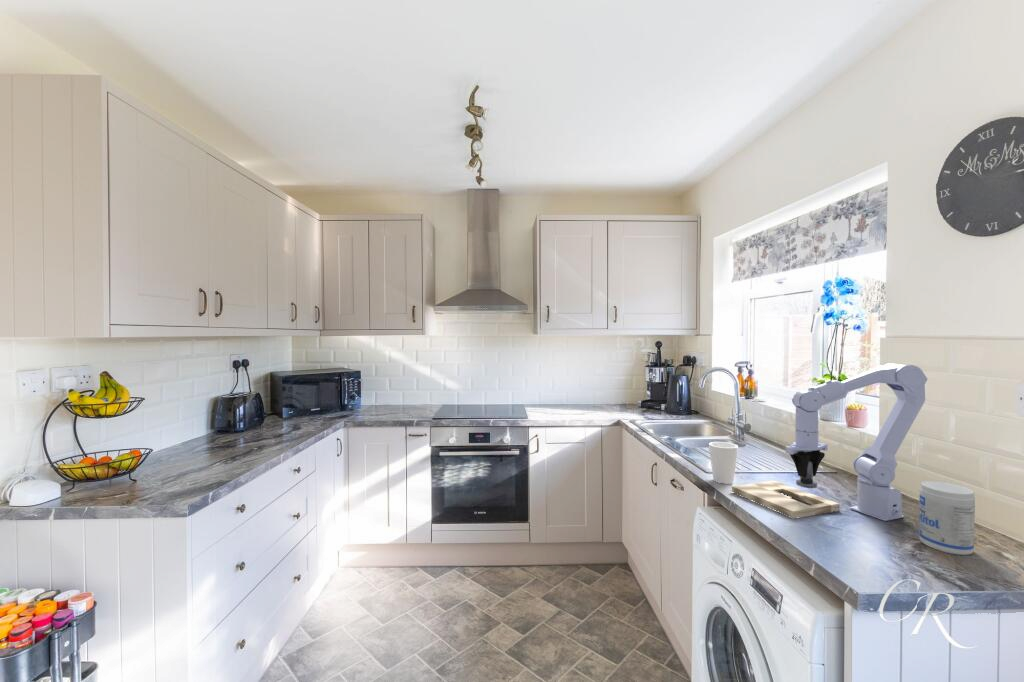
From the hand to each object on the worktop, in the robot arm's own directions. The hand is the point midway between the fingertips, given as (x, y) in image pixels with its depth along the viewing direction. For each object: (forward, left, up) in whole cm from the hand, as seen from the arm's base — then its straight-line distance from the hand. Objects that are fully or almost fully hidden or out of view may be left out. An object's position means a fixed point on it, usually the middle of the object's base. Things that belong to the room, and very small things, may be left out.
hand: (806, 475), depth 131 cm
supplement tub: (-29, -9, -10) cm, 32 cm away
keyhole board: (+6, +2, -10) cm, 12 cm away
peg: (0, 0, -3) cm, 3 cm away
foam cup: (+27, +5, -10) cm, 29 cm away
